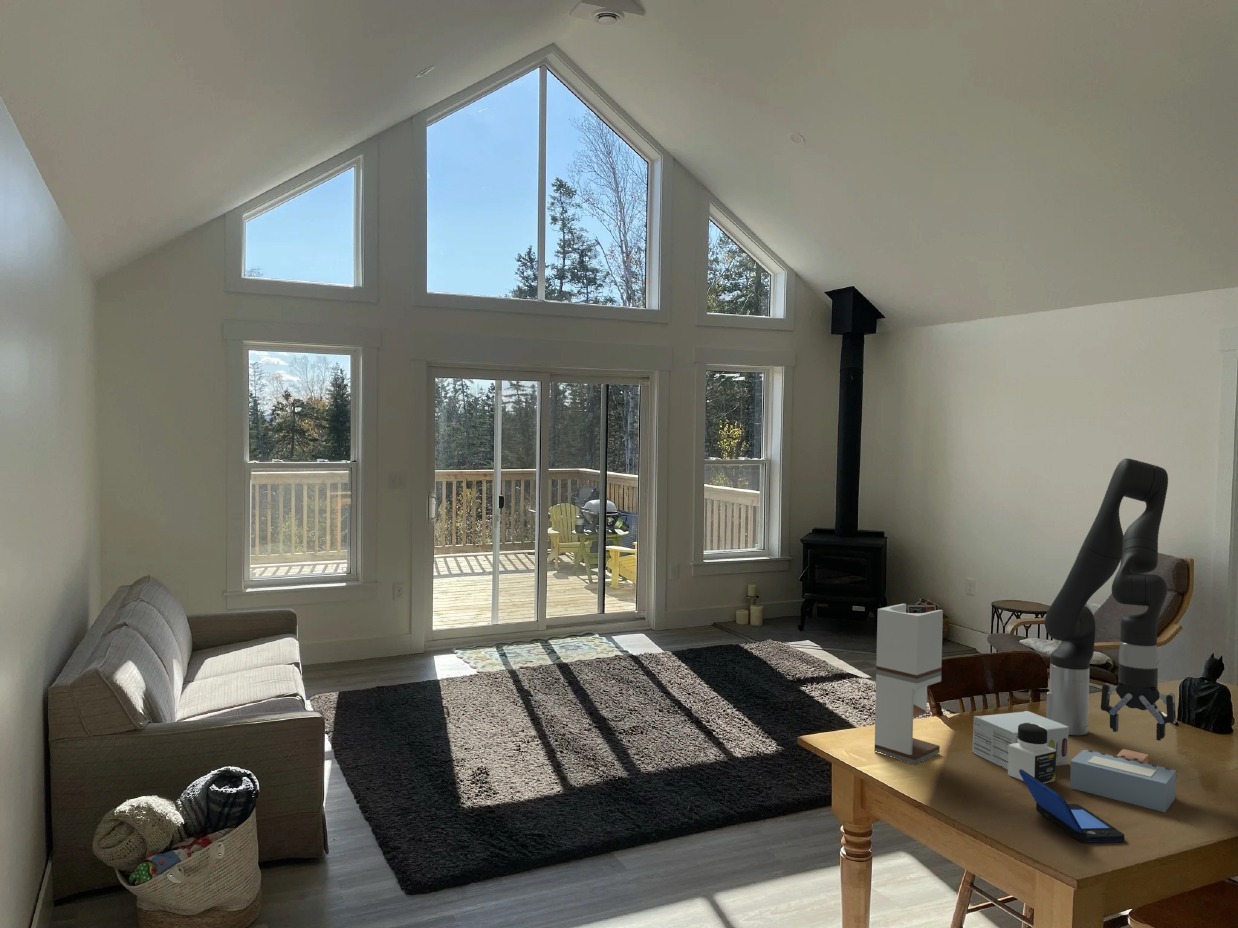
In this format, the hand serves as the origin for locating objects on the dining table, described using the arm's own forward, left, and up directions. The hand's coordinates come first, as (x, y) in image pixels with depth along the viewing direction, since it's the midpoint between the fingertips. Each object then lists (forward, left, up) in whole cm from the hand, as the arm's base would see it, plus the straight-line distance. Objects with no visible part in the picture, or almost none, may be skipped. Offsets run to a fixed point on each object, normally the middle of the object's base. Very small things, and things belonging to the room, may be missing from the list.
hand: (1137, 735), depth 194 cm
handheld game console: (-4, -35, -11) cm, 37 cm away
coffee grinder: (-45, -19, -11) cm, 50 cm away
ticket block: (-1, -9, -11) cm, 14 cm away
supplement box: (-24, -3, -11) cm, 26 cm away
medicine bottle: (-18, -14, -11) cm, 25 cm away
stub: (-1, -1, -11) cm, 11 cm away
